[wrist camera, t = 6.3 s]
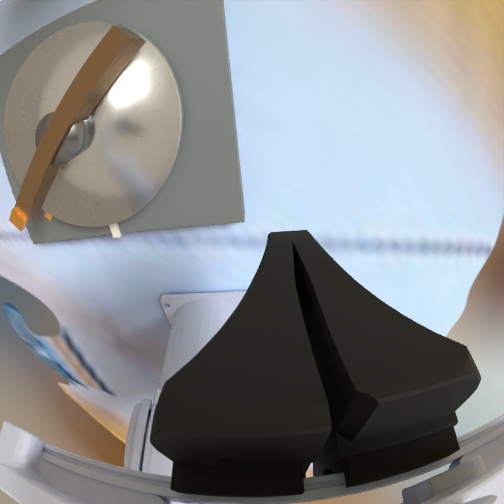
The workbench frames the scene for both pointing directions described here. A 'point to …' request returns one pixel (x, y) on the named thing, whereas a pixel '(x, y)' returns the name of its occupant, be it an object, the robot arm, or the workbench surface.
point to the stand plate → (196, 116)
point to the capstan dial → (92, 125)
